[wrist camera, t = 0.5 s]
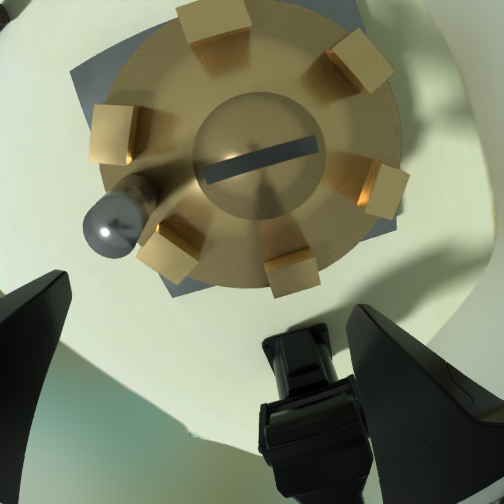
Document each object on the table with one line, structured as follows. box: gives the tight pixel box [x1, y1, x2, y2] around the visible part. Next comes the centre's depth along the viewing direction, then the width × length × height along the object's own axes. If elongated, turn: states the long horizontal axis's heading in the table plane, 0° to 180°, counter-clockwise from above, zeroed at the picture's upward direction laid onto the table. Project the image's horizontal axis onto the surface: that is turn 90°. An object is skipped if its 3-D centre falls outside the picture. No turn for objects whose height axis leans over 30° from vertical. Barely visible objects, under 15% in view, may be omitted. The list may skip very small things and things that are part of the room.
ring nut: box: [83, 0, 410, 299], centre depth 13 cm, size 16×16×7 cm
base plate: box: [70, 0, 397, 298], centre depth 16 cm, size 18×18×2 cm
